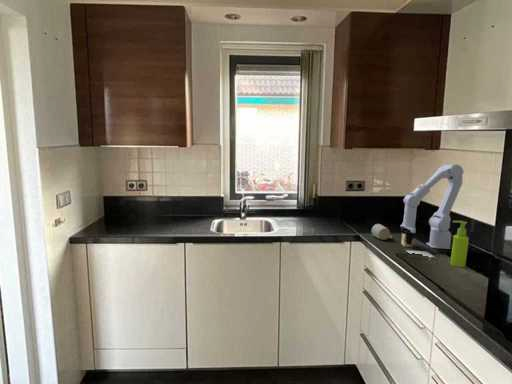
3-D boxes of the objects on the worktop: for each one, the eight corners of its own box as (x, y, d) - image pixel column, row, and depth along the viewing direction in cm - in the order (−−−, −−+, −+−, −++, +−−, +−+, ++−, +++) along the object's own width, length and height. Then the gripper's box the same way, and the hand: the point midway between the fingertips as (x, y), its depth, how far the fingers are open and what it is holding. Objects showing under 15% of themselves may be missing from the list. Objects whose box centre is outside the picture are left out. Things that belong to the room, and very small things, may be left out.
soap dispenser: (448, 261, 157) (454, 219, 154) (466, 264, 153) (471, 221, 150) (446, 264, 153) (451, 221, 150) (464, 268, 148) (469, 223, 145)
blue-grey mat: (427, 251, 170) (427, 251, 170) (437, 259, 158) (437, 259, 158) (398, 250, 171) (398, 249, 171) (406, 257, 159) (406, 257, 159)
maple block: (409, 244, 182) (410, 233, 181) (412, 247, 177) (413, 236, 176) (400, 244, 182) (402, 233, 181) (403, 246, 177) (404, 235, 177)
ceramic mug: (378, 240, 187) (380, 227, 186) (370, 236, 195) (371, 223, 194) (395, 240, 189) (397, 227, 188) (386, 236, 197) (388, 223, 196)
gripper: (397, 214, 185) (395, 238, 187) (406, 220, 170) (403, 246, 172) (410, 215, 184) (408, 239, 186) (421, 221, 170) (418, 247, 172)
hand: (407, 242), depth 179 cm, fingers closed on maple block, 4 cm apart
